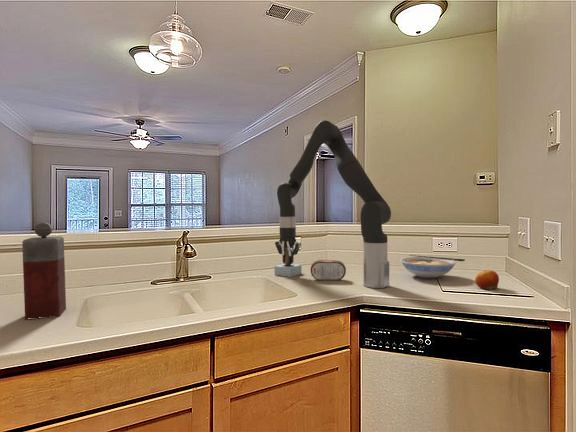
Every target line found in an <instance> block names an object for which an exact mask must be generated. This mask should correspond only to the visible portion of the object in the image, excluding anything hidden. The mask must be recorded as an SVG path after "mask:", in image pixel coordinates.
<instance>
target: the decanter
mask: <svg viewBox="0 0 576 432" xmlns="http://www.w3.org/2000/svg"><path fill="white" fill-rule="evenodd" d="M34 233H35V234H36V235H37V236H36V237H35V236H33V237H28V238H25V239H24V240H22V242H21V244H22V245H21V246H22V249H21V250H22V251H21V252H22V271H23V272H22V273H23V275H22V276H23V298H24V299H23V301H24V302H23V304H24V320H25V319H28V318H39V317H49V318H51V317H50V316H58V317H61V316H62V315H63V313H64V312H65V311H66V310H67V298H66V297H67V296H66V272H65V271H66V270H65V269H66V267H65V266H66V265H65V240H64V237H63V236H62V235H59V236H58V235H57V236H56V235H55V236H49V235H51V234H52V233H53V226H52V225H51V224H50V223H48V222H39V223H37V224H36V225H35V227H34ZM61 314H62V315H61ZM39 319H40V318H39Z"/></svg>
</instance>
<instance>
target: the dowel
mask: <svg viewBox="0 0 576 432" xmlns="http://www.w3.org/2000/svg"><path fill="white" fill-rule="evenodd" d="M290 249H291V248H290ZM285 266H287V267H290V266H291V264H289V251H288V248H285Z"/></svg>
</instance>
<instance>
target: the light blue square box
mask: <svg viewBox="0 0 576 432" xmlns="http://www.w3.org/2000/svg"><path fill="white" fill-rule="evenodd" d="M273 268H274V275H275V276H282V277H290V278H291V277H295V276H298V275H300V274H302V273H303V272H302V264H298V263H295V264H294V263H293V264H291V266H290V267H287V266H285V264H284V263H281V264H278V265H274V267H273Z"/></svg>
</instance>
